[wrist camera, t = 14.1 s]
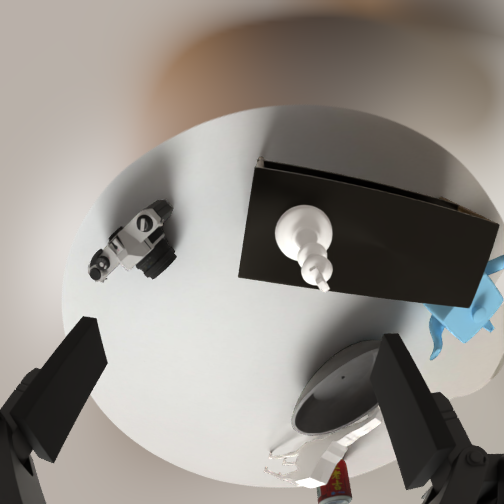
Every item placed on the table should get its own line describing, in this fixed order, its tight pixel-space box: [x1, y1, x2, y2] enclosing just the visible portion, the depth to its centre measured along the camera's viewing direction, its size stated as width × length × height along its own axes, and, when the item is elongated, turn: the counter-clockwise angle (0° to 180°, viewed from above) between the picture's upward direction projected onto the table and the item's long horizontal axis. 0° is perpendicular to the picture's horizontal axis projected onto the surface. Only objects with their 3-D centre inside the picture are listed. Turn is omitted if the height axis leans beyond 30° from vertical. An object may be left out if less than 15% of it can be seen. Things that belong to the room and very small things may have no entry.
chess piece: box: [275, 205, 333, 293], centre depth 23 cm, size 5×5×10 cm
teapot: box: [423, 255, 504, 360], centre depth 39 cm, size 18×14×10 cm
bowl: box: [291, 340, 381, 435], centre depth 47 cm, size 12×22×6 cm, turn 143°
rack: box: [238, 157, 499, 308], centre depth 34 cm, size 26×10×13 cm, turn 81°
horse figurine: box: [264, 406, 383, 488], centre depth 52 cm, size 5×16×25 cm
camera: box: [88, 199, 177, 283], centre depth 39 cm, size 13×8×9 cm, turn 132°
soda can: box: [317, 459, 352, 504], centre depth 54 cm, size 7×7×12 cm
